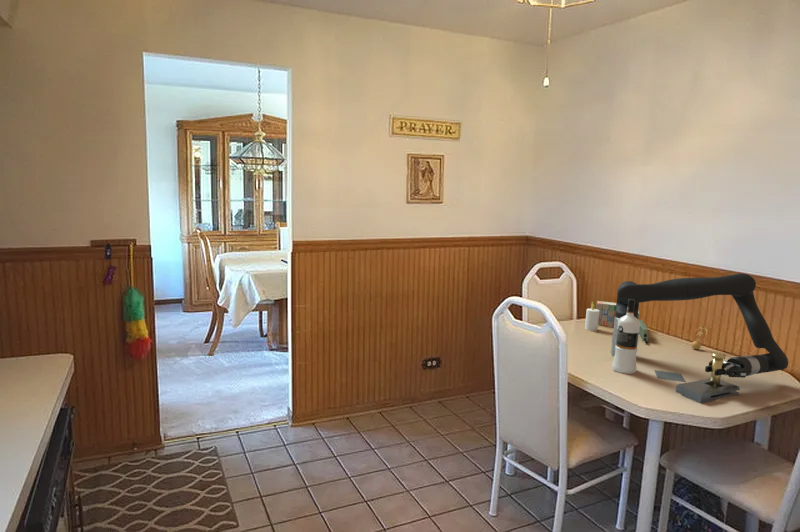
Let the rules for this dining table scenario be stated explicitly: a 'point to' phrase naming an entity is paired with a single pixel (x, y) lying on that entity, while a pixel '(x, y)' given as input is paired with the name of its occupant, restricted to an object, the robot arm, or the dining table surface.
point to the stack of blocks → (607, 313)
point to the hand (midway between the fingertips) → (710, 370)
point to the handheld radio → (643, 331)
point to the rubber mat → (669, 376)
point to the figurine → (696, 343)
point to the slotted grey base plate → (706, 390)
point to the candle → (592, 319)
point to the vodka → (627, 342)
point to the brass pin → (716, 365)
